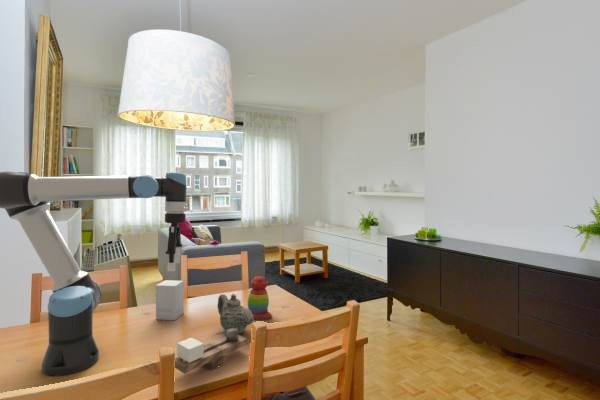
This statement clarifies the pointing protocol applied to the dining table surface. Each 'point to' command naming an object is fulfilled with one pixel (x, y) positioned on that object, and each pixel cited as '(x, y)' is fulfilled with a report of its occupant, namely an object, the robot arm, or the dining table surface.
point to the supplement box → (169, 300)
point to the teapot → (233, 313)
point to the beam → (214, 352)
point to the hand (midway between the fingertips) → (173, 267)
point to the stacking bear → (259, 299)
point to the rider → (190, 350)
